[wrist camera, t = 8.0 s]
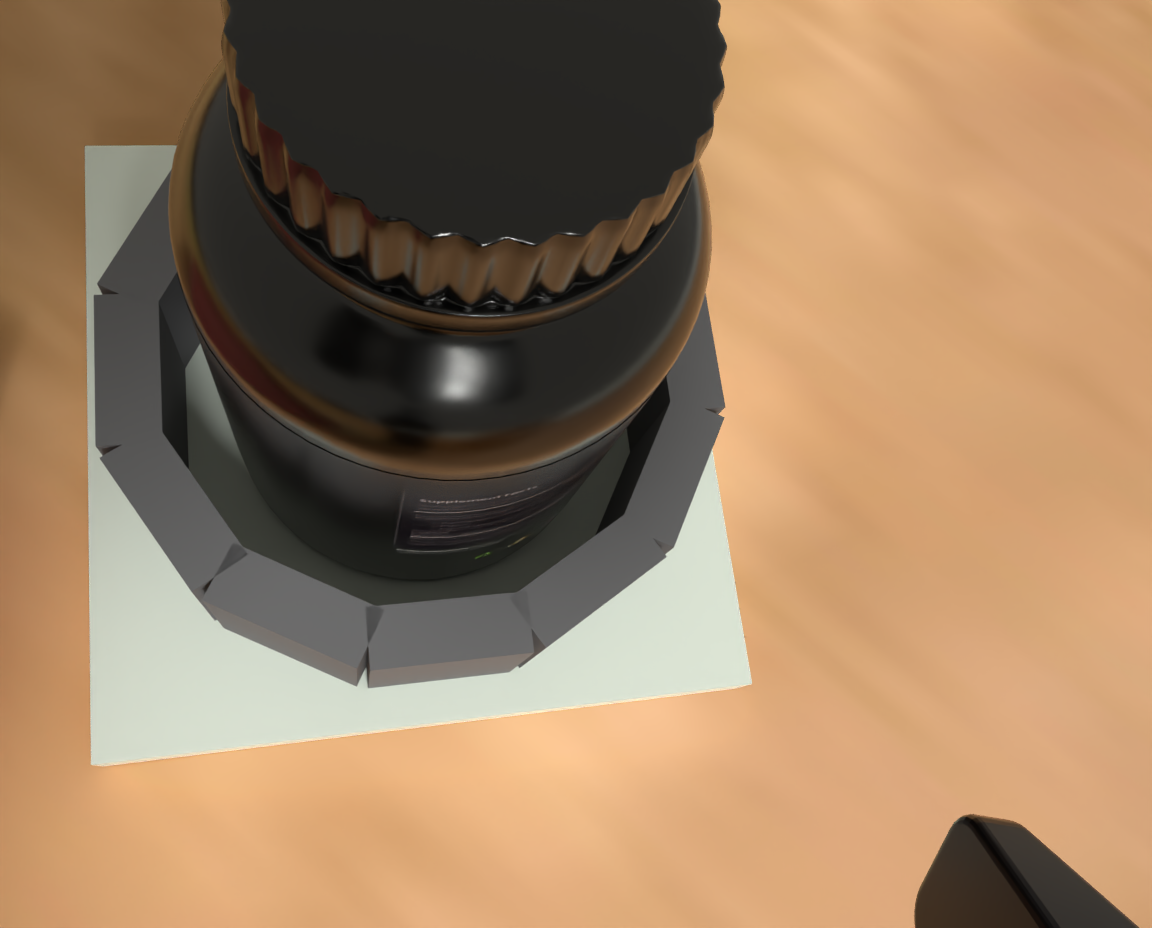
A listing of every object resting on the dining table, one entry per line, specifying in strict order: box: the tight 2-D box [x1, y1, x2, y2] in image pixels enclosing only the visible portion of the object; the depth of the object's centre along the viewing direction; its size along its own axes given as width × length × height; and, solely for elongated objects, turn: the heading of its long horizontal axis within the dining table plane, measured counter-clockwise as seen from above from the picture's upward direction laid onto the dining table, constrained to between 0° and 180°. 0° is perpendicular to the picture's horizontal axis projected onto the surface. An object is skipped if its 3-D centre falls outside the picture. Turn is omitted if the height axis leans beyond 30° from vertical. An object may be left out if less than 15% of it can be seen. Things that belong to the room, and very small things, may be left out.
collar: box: [94, 169, 725, 688], centre depth 20 cm, size 10×10×3 cm
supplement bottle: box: [168, 0, 727, 580], centre depth 16 cm, size 7×7×12 cm
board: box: [85, 145, 752, 766], centre depth 22 cm, size 12×12×1 cm
